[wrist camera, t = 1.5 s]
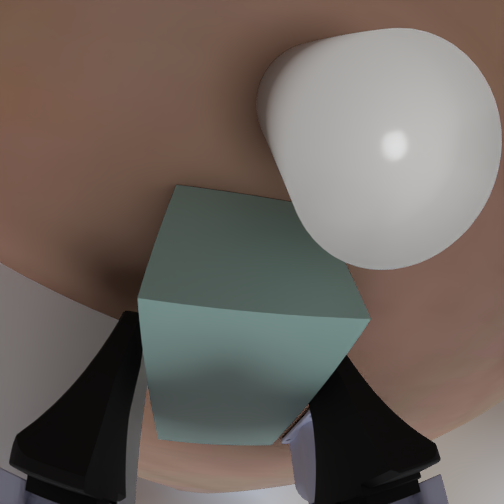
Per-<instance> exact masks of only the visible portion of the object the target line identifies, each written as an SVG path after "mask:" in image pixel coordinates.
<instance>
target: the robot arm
mask: <svg viewBox="0 0 504 504" xmlns="http://www.w3.org/2000/svg"><path fill="white" fill-rule="evenodd" d="M142 352H143V348H142V340H141V331H140V321H139V313H137V312H131V311H125V312H123V314H122V316H121V318H120V319H119V321H118V323H117V324H116V326H115V328H114V329H113V331H112V332H111V334H110V336H109V337H108V339H107V340H106V342H105V343H104V344H103V346H102V347H101V349H100V350H99V352H98V353H97V355H96V356H95V357H94V359H93V360H92V361H91V362H90V364H89V365H88V366H87V368H86V369H85V370H84V372H83V373H82V374H81V375H80V377H79V378H78V379H77V380H76V381H75V382H74V383H73V385H72V386H71V387H70V388H69V389H68V390H67V391H66V392H65V393H64V394H63V395H62V396H61V397H60V398H59V399H58V400H57V401H56V402H55V403H54V404H53V405H52V406H51V407H50V408H49V409H48V410H47V411H45V412H44V413H43V414H42V415H41V416H40V417H39V418H38V419H36V420H35V421H34V422H33V423H31V424H30V425H29V426H27V427H26V428H25V429H23V430H22V431H21V432H19V433H18V434H17V435H16V437H15V440H14V442H13V445H12V449H11V454H10V459H9V464H10V465H11V466H12V467H14V468H15V469H17V470H19V471H21V472H23V473H25V474H27V480H26V479H23V478H21V477H19V476H17V475H15V474H13V473H11V472H9V471H7V470H5V469H3V468H1V467H0V504H117V501H119V502H120V501H122V500H123V499H125V498H126V447H127V433H128V422H129V415H130V410H131V405H132V401H133V396H134V392H135V387H136V383H137V379H138V375H139V371H140V366H141V359H142ZM308 404H309V408H310V410H309V411H308V412H307V413H306V414H305V415H304V416H303V417H302V418H301V420H300V421H299V422H298V423H297V424H296V425H295V426H294V427H293V428H292V429H291V430H290V431H289V432H288V434H287V435H286V436H285V437H284V438H283V439H282V440H281V443H282V444H289V443H290V450H291V457H292V465H293V472H294V480H295V485H296V489H297V491H298V493H299V494H300V495H301V497H302V498H304V499H305V500H307V501H309V504H448V500H447V496H446V492H445V488H444V484H443V480H442V477H441V475H440V474H439V475H437V476H435V477H432V478H430V479H428V480H425V481H423V482H421V483H418V479H419V478H421V475H420V471H422V470H424V469H426V468H428V467H430V466H432V465H434V464H436V463H437V462H439V461H440V456H439V452H438V449H437V446H436V444H435V443H433V442H432V441H431V440H429V439H427V438H426V437H424V436H423V435H421V434H420V433H418V432H417V431H416V430H414V429H413V428H412V427H410V426H409V425H408V424H407V423H405V422H404V421H403V420H402V419H401V418H400V417H399V416H397V415H396V414H395V413H394V412H393V411H392V410H391V409H390V408H389V407H388V406H387V405H386V404H385V403H384V402H383V401H382V400H381V399H380V398H379V397H378V395H377V394H376V393H375V392H374V391H373V390H372V388H371V387H370V386H369V385H368V383H367V382H366V381H365V380H364V378H363V377H362V376H361V374H360V373H359V372H358V370H357V369H356V367H355V366H354V365H353V363H352V362H351V360H350V359H349V358H348V356H347V355H346V356H345V357H344V359H343V360H342V361H341V363H340V364H339V365H338V367H337V368H336V369H335V371H334V372H333V373H332V375H331V376H330V377H329V379H328V380H327V381H326V382H325V384H324V385H323V386H322V387H321V389H320V390H319V391H318V392H317V394H316V395H315V396H314V397H313V399H312V400H311V401H310V402H309V403H308Z"/></svg>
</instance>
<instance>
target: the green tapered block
mask: <svg viewBox="0 0 504 504" xmlns="http://www.w3.org/2000/svg"><path fill="white" fill-rule="evenodd" d="M138 311H139V321H140V331H141V340H142V348H143V356H144V363H145V370H146V376H147V383H148V389H149V395H150V400H151V406H152V411H153V416H154V421H155V426H156V430H157V435H158V439H162V440H169V441H178V442H188V443H200V444H217V445H272V444H273V443H274V442H275V441H276V440H277V439H278V438H279V436H280V435H281V434H282V433H283V432H284V431H285V430H286V429H287V428H288V427H289V425H290V424H291V423H292V422H293V421H294V420H295V419H296V417H297V416H298V415H299V414H300V413H301V412H302V411H303V409H304V408H305V407H306V406H307V405H308V403H309V402H310V401H311V400H312V399H313V397H314V396H315V395H316V394H317V392H318V391H319V390H320V389H321V387H322V386H323V385H324V384H325V382H326V381H327V380H328V379H329V377H330V376H331V375H332V373H333V372H334V371H335V369H336V368H337V367H338V365H339V364H340V363H341V361H342V360H343V359H344V357H345V356H346V354H347V353H348V352H349V350H350V349H351V348H352V346H353V345H354V343H355V342H356V340H357V339H358V338H359V336H360V335H361V333H362V332H363V330H364V329H365V327H366V326H367V324H368V323H369V321H370V320H371V318H370V316H369V314H368V311H367V309H366V307H365V304H364V302H363V300H362V298H361V296H360V293H359V291H358V289H357V287H356V285H355V282H354V280H353V278H352V276H351V274H350V272H349V270H348V268H347V266H346V263H345V262H343V261H341V260H339V259H338V258H336V257H334V256H332V255H331V254H330V253H328V252H327V251H325V250H324V249H323V248H322V247H321V246H320V245H319V244H318V243H317V242H316V241H315V240H314V239H313V238H312V237H311V236H310V234H309V233H308V232H307V230H306V229H305V228H304V226H303V224H302V222H301V220H300V219H299V217H298V215H297V213H296V210H295V208H294V205H293V203H292V202H288V201H283V200H277V199H271V198H265V197H259V196H253V195H246V194H240V193H233V192H226V191H219V190H212V189H205V188H198V187H190V186H182V185H176V187H175V189H174V192H173V195H172V197H171V200H170V202H169V205H168V208H167V210H166V213H165V216H164V219H163V221H162V224H161V227H160V230H159V233H158V235H157V238H156V241H155V244H154V247H153V250H152V253H151V256H150V259H149V262H148V265H147V268H146V272H145V275H144V278H143V281H142V284H141V288H140V291H139V294H138Z"/></svg>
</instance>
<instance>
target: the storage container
mask: <svg viewBox="0 0 504 504" xmlns="http://www.w3.org/2000/svg"><path fill="white" fill-rule="evenodd" d="M118 321H119V320H117V319H115V318H113V317H110V316H108V315H105V314H103V313H101V312H98V311H96V310H94V309H91V308H89V307H87V306H85V305H82V304H80V303H78V302H76V301H74V300H71V299H69V298H67V297H65V296H63V295H61V294H59V293H57V292H55V291H53V290H51V289H49V288H47V287H45V286H43V285H41V284H39V283H37V282H35V281H33V280H31V279H29V278H27V277H25V276H24V275H22V274H20V273H18V272H16V271H14V270H13V269H11V268H9V267H7V266H5V265H4V264H2V263H0V467H1V468H3V469H5V470H7V471H9V472H11V473H13V474H15V475H17V476H19V477H21V478H23V479H26V480H27V474H25V473H23V472H21V471H19V470H17V469H15V468H14V467H12V466H11V465H10V464H9V459H10V454H11V449H12V445H13V442H14V440H15V437H16V435H17V434H18V433H19V432H21V431H22V430H23V429H25V428H26V427H27V426H29V425H30V424H31V423H33V422H34V421H35V420H36V419H38V418H39V417H40V416H41V415H42V414H43V413H44V412H45V411H47V410H48V409H49V408H50V407H51V406H52V405H53V404H54V403H55V402H56V401H57V400H58V399H59V398H60V397H61V396H62V395H63V394H64V393H65V392H66V391H67V390H68V389H69V388H70V387H71V386H72V385H73V383H74V382H75V381H76V380H77V379H78V378H79V377H80V375H81V374H82V373H83V372H84V370H85V369H86V368H87V366H88V365H89V364H90V362H91V361H92V360H93V359H94V357H95V356H96V355H97V353H98V352H99V350H100V349H101V347H102V346H103V344H104V343H105V342H106V340H107V339H108V337H109V336H110V334H111V332H112V331H113V329H114V328H115V326H116V324H117V323H118ZM146 390H147V376H146V370H145V363H144V356H143V352H142V359H141V366H140V371H139V375H138V379H137V383H136V387H135V392H134V396H133V401H132V405H131V410H130V415H129V422H128V433H127V447H126V498H125V499H123V500H122V501H120V502H119V501H117V504H135V496H136V481H137V468H138V457H139V446H140V437H141V428H142V420H143V412H144V404H145V397H146Z"/></svg>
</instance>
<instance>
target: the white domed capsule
mask: <svg viewBox="0 0 504 504" xmlns="http://www.w3.org/2000/svg"><path fill="white" fill-rule="evenodd" d="M256 109H257V117H258V121H259V124H260V127H261V129H262V132H263V134H264V136H265V139H266V141H267V143H268V146H269V148H270V150H271V152H272V155H273V157H274V159H275V162H276V164H277V166H278V169H279V171H280V174H281V176H282V178H283V181H284V183H285V186H286V188H287V190H288V193H289V195H290V198H291V200H292V203H293V205H294V208H295V210H296V213H297V215H298V217H299V219H300V220H301V222H302V224H303V226H304V228H305V229H306V230H307V232H308V233H309V234H310V236H311V237H312V238H313V239H314V240H315V241H316V242H317V243H318V244H319V245H320V246H321V247H322V248H323V249H324V250H325V251H327V252H328V253H330V254H331V255H332V256H334V257H336V258H338V259H339V260H341V261H343V262H345V263H348V264H351V265H354V266H357V267H361V268H367V269H376V270H388V269H397V268H403V267H407V266H411V265H414V264H417V263H420V262H422V261H424V260H427V259H429V258H431V257H433V256H435V255H436V254H438V253H440V252H441V251H443V250H444V249H446V248H447V247H449V246H450V245H451V244H452V243H454V242H455V241H456V240H457V239H458V238H459V237H460V236H461V235H462V234H463V233H464V232H465V231H466V230H467V229H468V228H469V227H470V226H471V224H472V223H473V222H474V221H475V219H476V218H477V217H478V215H479V214H480V212H481V210H482V209H483V207H484V205H485V204H486V202H487V200H488V198H489V196H490V193H491V191H492V188H493V186H494V183H495V180H496V177H497V173H498V169H499V164H500V158H501V146H502V137H501V124H500V117H499V113H498V109H497V105H496V102H495V99H494V96H493V94H492V91H491V89H490V87H489V85H488V83H487V81H486V79H485V78H484V76H483V75H482V73H481V72H480V70H479V69H478V68H477V66H476V65H475V64H474V63H473V62H472V60H471V59H470V58H469V57H468V56H467V55H466V54H465V53H463V52H462V51H461V50H460V49H458V48H457V47H456V46H455V45H453V44H452V43H450V42H448V41H446V40H445V39H443V38H441V37H439V36H436V35H434V34H431V33H428V32H425V31H421V30H416V29H409V28H390V29H381V30H373V31H365V32H358V33H352V34H346V35H341V36H335V37H330V38H325V39H320V40H316V41H311V42H307V43H304V44H300V45H297V46H295V47H293V48H290V49H289V50H287V51H285V52H284V53H282V54H281V55H280V56H279V57H277V58H276V59H275V60H274V61H273V62H272V64H271V65H270V66H269V67H268V69H267V70H266V72H265V73H264V75H263V77H262V80H261V82H260V85H259V88H258V93H257V99H256Z"/></svg>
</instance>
